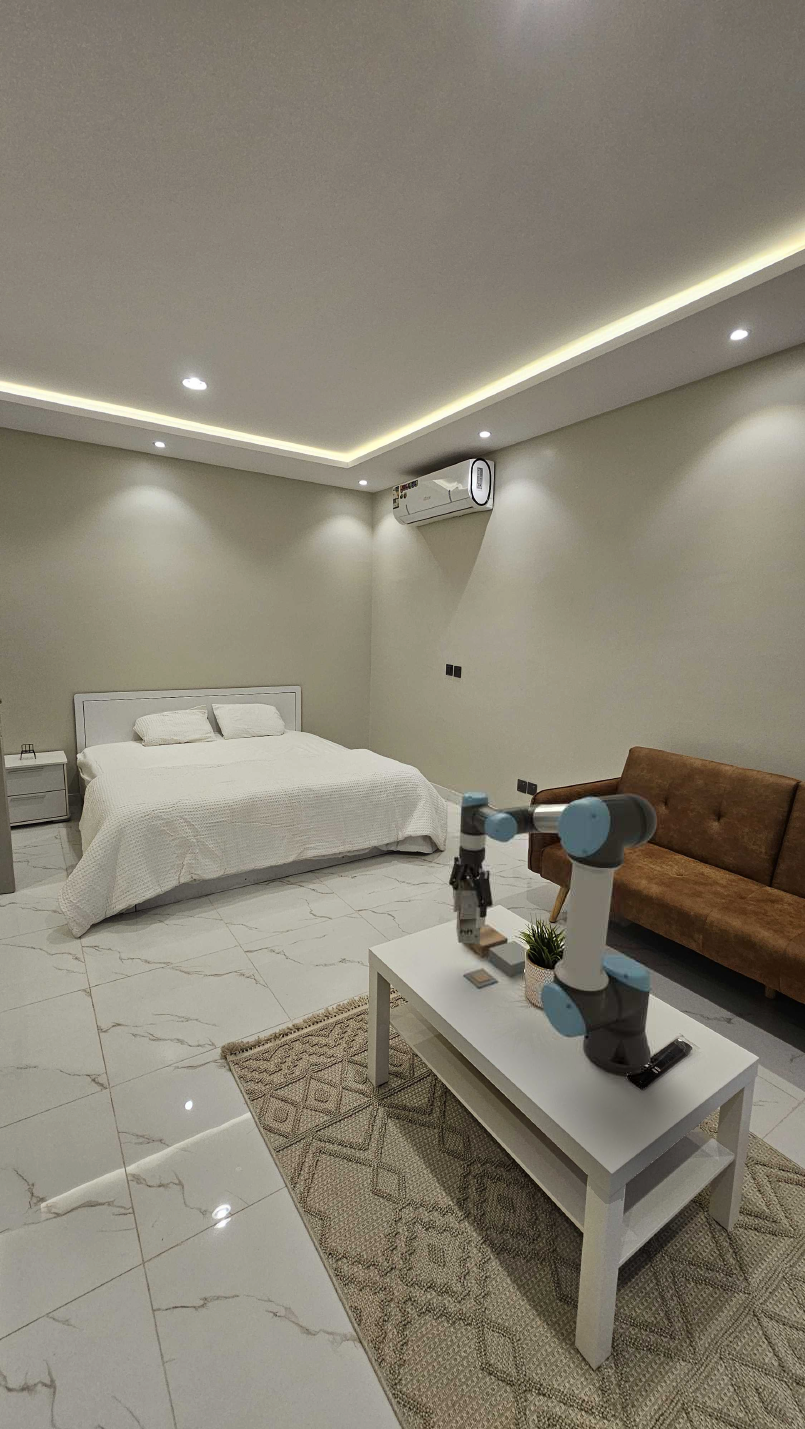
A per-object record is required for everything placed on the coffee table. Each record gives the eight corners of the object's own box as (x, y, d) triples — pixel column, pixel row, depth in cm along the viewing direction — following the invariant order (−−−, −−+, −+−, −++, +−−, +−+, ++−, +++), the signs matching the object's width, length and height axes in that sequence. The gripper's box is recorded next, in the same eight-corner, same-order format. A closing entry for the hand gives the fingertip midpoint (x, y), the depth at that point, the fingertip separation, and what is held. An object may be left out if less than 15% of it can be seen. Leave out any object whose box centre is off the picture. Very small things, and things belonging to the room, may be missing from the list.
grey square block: (535, 969, 179) (537, 956, 178) (510, 977, 174) (511, 964, 173) (513, 952, 187) (514, 940, 187) (488, 960, 182) (489, 948, 182)
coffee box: (480, 944, 173) (483, 891, 170) (458, 943, 173) (461, 890, 170) (476, 928, 182) (479, 877, 180) (455, 927, 182) (458, 876, 180)
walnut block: (506, 950, 188) (507, 938, 188) (481, 958, 183) (482, 946, 183) (486, 935, 197) (487, 924, 196) (462, 942, 192) (462, 931, 191)
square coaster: (498, 981, 171) (498, 979, 171) (478, 988, 168) (478, 986, 168) (482, 969, 177) (482, 967, 177) (463, 975, 174) (463, 973, 174)
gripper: (508, 857, 166) (504, 932, 169) (459, 832, 185) (456, 900, 188) (487, 861, 162) (482, 938, 165) (439, 835, 181) (436, 905, 184)
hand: (468, 918), depth 177 cm, fingers closed on coffee box, 10 cm apart
